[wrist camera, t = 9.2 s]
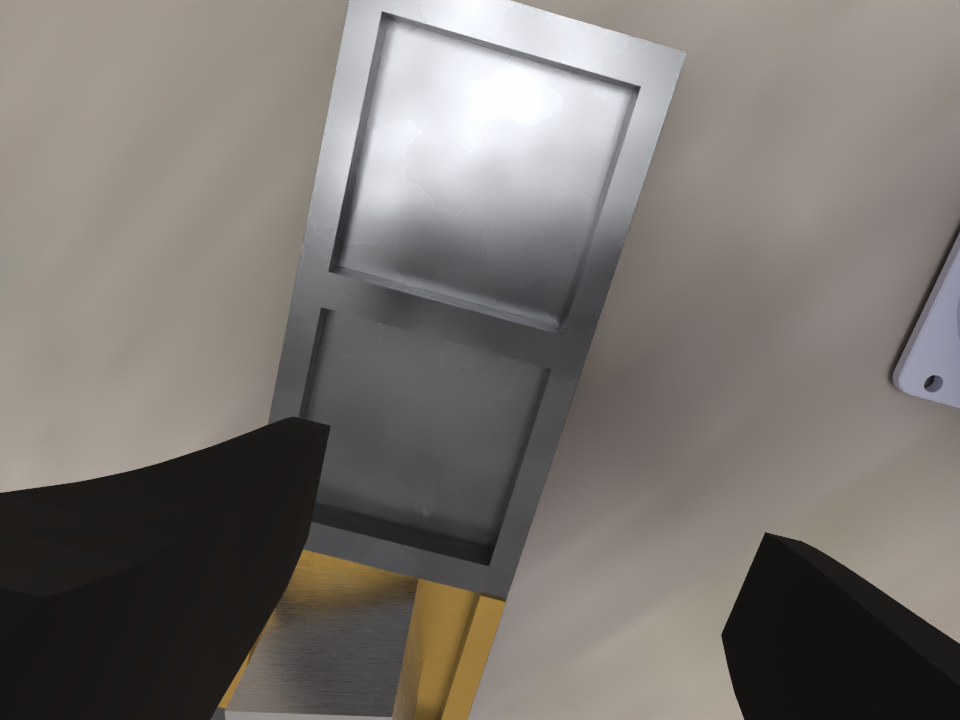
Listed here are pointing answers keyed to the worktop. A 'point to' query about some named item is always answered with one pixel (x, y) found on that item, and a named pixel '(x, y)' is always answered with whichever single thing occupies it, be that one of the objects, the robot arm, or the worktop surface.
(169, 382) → the worktop surface
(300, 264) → the silver divided tray
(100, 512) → the robot arm
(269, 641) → the brushed steel square tube
